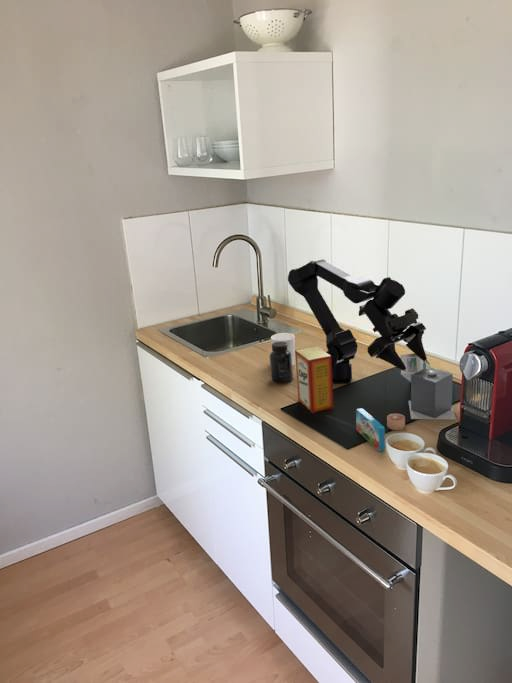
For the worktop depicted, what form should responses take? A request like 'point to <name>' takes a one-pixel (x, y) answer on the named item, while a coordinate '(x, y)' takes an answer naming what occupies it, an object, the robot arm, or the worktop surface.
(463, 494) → the worktop surface
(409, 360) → the syrup box
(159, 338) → the worktop surface
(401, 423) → the terracotta bowl
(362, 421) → the light blue carton
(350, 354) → the robot arm
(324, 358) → the baking soda box
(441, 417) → the grey rubber mat
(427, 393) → the charcoal cover canister
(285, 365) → the supplement bottle
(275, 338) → the white cup
